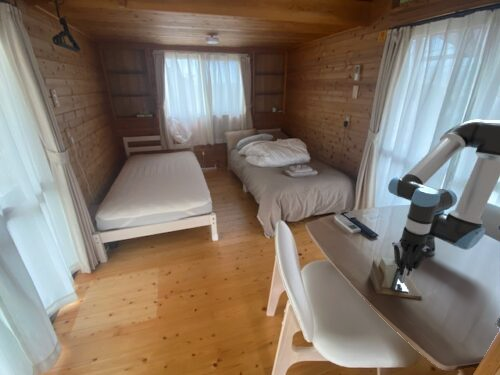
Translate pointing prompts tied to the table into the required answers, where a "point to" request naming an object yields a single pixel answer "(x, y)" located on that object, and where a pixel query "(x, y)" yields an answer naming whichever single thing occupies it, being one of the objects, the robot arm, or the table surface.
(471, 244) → the robot arm
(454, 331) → the table surface
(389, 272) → the box
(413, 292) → the rack
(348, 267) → the table surface
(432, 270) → the table surface
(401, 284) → the bookend
